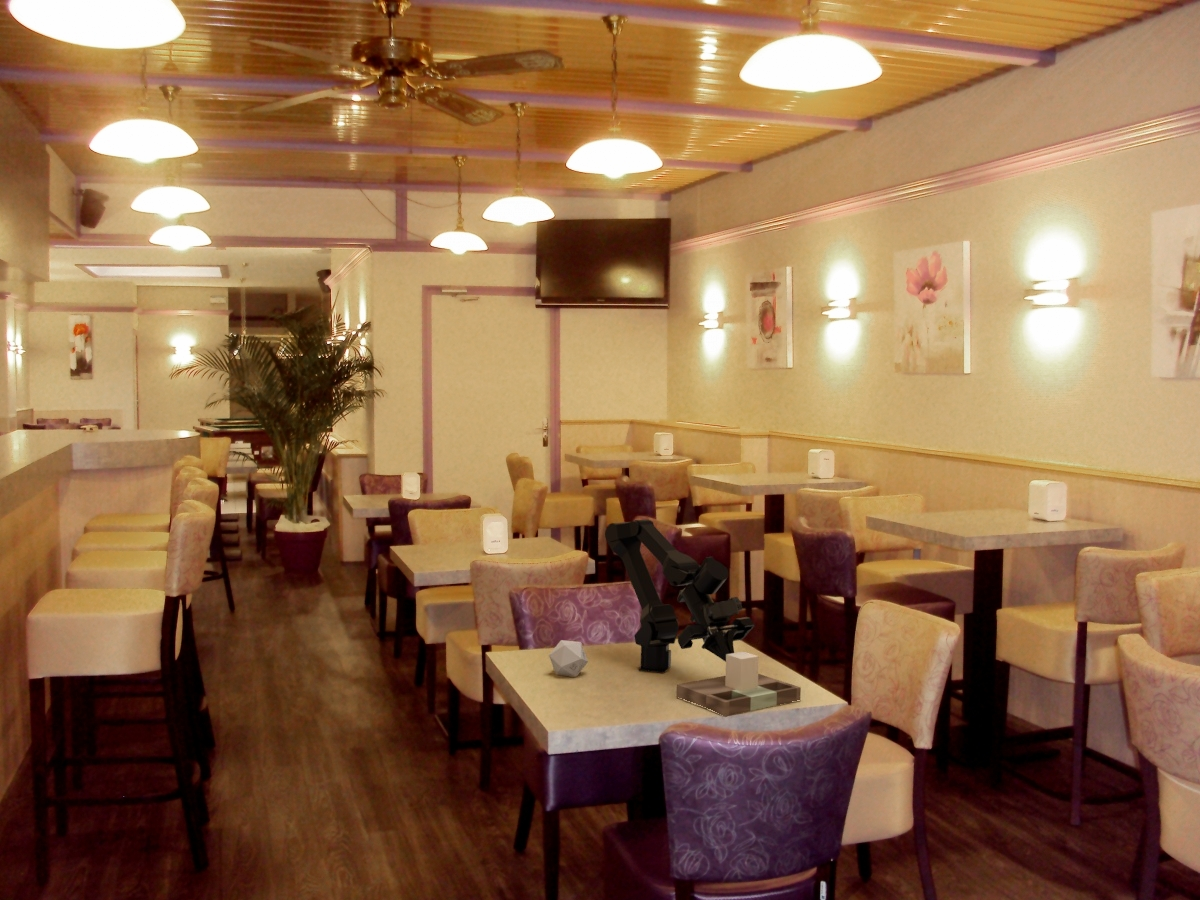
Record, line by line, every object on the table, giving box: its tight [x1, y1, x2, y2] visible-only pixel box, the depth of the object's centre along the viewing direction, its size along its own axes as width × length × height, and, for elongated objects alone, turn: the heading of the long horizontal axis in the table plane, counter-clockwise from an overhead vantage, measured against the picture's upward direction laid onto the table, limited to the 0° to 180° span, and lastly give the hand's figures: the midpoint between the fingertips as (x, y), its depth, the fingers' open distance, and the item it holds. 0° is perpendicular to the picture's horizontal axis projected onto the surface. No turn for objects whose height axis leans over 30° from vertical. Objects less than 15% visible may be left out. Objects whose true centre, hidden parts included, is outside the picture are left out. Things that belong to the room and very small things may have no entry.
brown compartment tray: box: [675, 673, 802, 717], centre depth 239 cm, size 16×22×3 cm
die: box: [548, 639, 589, 678], centre depth 258 cm, size 8×9×10 cm
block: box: [725, 651, 760, 691], centre depth 238 cm, size 5×5×7 cm
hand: (733, 664), depth 241 cm, fingers closed, pressing on block
